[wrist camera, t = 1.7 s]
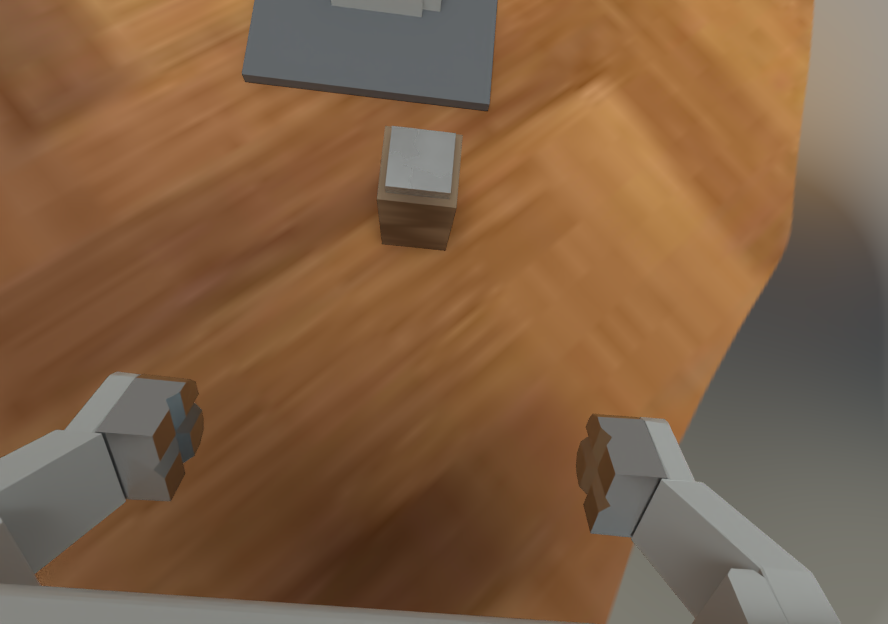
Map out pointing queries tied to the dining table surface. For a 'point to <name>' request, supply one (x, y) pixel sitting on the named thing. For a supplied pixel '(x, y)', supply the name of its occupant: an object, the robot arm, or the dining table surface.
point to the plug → (418, 187)
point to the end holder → (376, 48)
